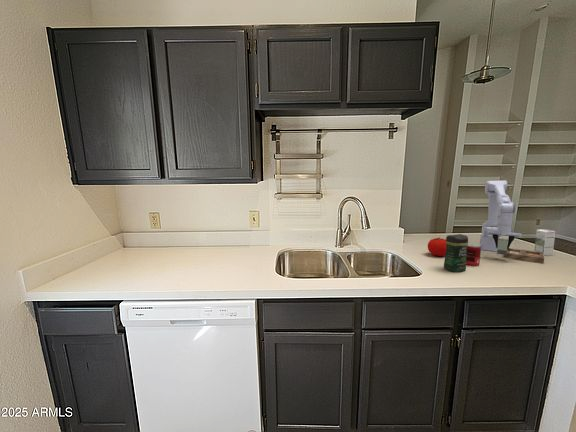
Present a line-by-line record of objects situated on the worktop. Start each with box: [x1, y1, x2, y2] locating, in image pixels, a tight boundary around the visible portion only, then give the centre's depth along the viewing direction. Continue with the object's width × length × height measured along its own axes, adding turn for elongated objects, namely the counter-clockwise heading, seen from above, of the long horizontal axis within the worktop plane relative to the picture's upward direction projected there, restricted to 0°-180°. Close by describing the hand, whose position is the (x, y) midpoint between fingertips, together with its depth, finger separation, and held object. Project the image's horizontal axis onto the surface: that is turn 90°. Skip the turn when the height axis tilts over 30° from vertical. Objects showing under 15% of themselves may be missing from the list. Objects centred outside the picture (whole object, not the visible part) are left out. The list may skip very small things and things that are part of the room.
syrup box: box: [534, 228, 556, 256], centre depth 145 cm, size 6×6×14 cm
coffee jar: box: [443, 233, 469, 273], centre depth 126 cm, size 10×8×19 cm
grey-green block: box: [496, 238, 508, 256], centre depth 138 cm, size 4×4×8 cm
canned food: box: [466, 242, 481, 267], centre depth 134 cm, size 8×8×11 cm
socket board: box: [503, 247, 545, 264], centre depth 141 cm, size 16×14×3 cm
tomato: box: [427, 236, 446, 257], centre depth 150 cm, size 12×12×11 cm
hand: (502, 248), depth 138 cm, fingers closed on grey-green block, 4 cm apart
